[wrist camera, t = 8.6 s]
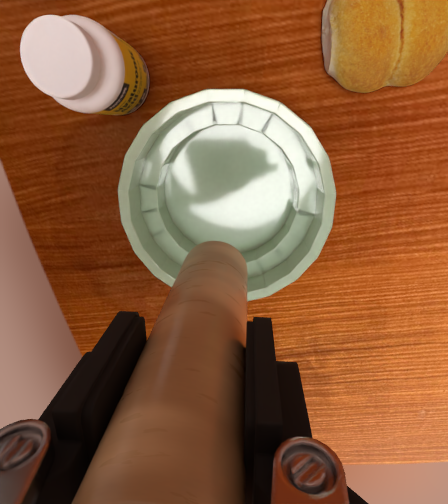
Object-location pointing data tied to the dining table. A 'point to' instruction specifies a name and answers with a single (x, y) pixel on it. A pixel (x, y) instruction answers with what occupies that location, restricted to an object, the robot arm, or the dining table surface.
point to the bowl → (228, 187)
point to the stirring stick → (183, 396)
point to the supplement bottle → (84, 65)
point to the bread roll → (383, 41)
